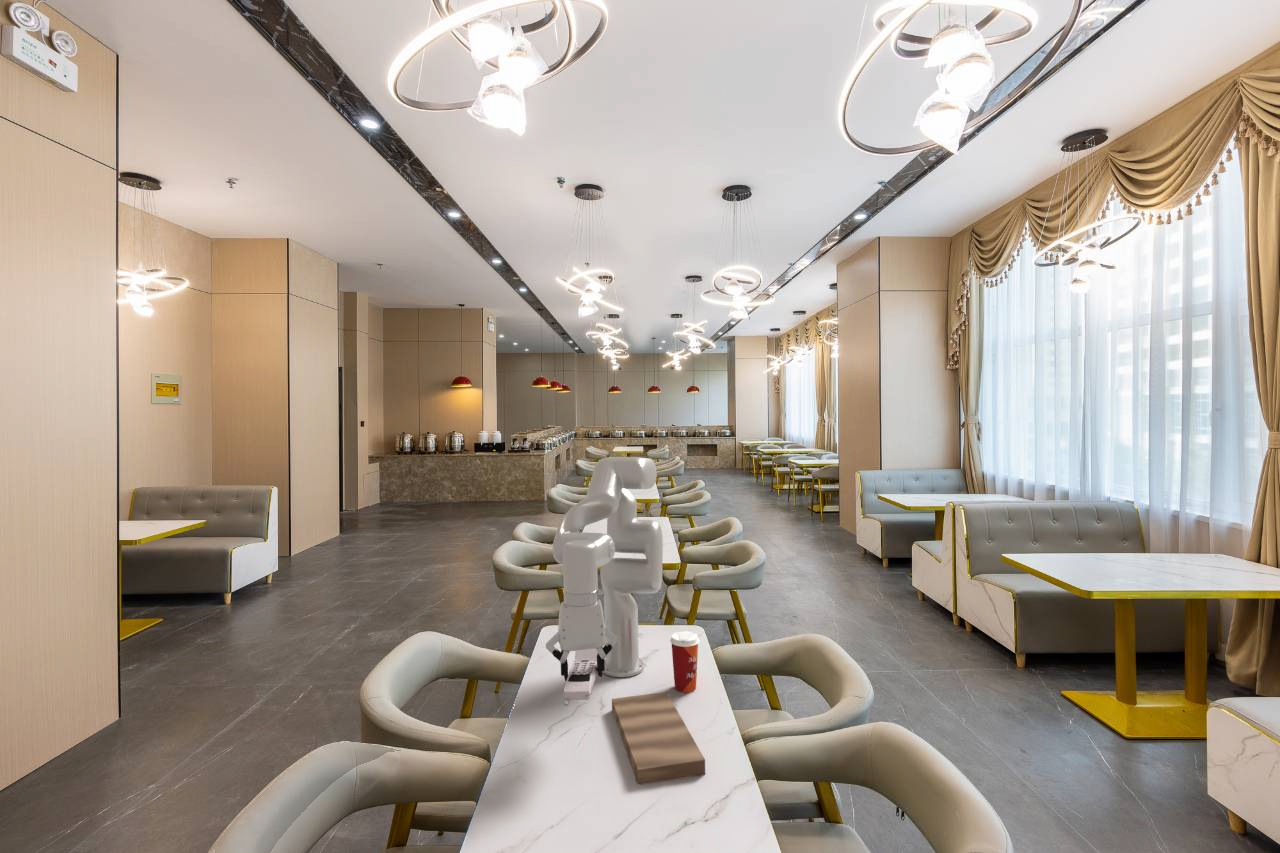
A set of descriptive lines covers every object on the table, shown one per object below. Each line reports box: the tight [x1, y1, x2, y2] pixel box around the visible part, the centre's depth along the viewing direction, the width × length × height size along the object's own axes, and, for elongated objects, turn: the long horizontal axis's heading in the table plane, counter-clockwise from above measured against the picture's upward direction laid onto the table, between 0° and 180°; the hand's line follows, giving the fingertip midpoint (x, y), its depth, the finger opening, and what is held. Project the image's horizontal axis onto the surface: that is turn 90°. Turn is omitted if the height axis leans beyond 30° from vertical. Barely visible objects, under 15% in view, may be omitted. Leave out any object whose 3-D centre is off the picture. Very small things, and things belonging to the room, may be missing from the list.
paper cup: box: [669, 630, 700, 694], centre depth 162 cm, size 8×8×14 cm
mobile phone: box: [562, 648, 598, 707], centre depth 136 cm, size 6×6×25 cm
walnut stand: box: [611, 691, 706, 785], centre depth 137 cm, size 30×14×3 cm, turn 13°
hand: (582, 675), depth 136 cm, fingers closed on mobile phone, 6 cm apart
